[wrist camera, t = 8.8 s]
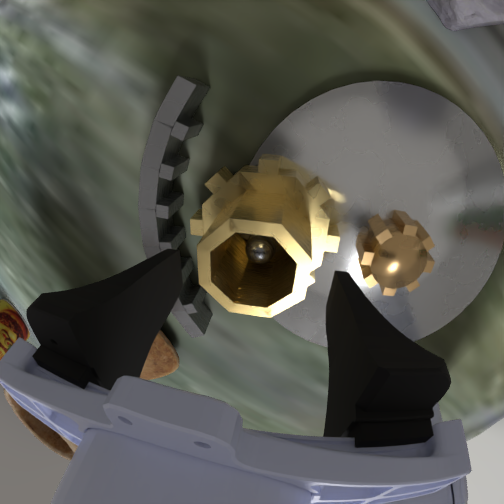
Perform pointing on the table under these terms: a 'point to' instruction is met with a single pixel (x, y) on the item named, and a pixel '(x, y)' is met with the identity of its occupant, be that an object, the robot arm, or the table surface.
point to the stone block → (468, 13)
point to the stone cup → (156, 365)
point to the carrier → (356, 201)
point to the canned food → (11, 326)
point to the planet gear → (266, 224)
